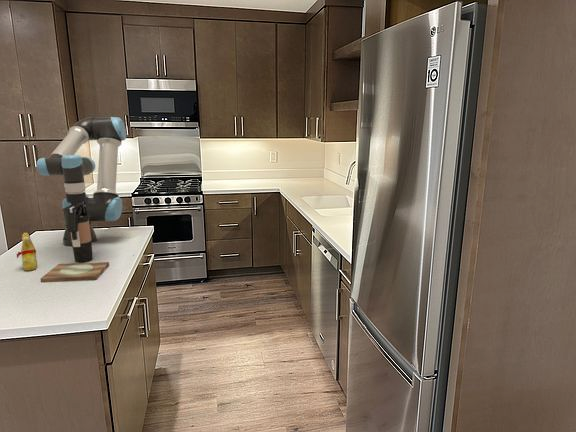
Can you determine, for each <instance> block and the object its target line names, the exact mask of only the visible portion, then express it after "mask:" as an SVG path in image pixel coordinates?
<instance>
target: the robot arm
mask: <svg viewBox="0 0 576 432" xmlns="http://www.w3.org/2000/svg"><path fill="white" fill-rule="evenodd" d="M126 139H127V131H126V125H125V123H124V121H123V120H122V118H120V117H117V116H89V117H85V118H83V119H81V120H78V121H77V122H75V123H74V124H72V126H71V127H70V128H69V129H68V131H67V135H65V137H64V139H63V140H62V141H61V142H60V143H59V144H58V145H57V147H56V148H55V149H54V150H53V151H52V153H51V154H50V155H49V156H48V157H41V158H39V159H38V160H37V162H36V170H37V173H38V174H39V175H41V176H49V177H51V176H63V182H64V185H63V187H64V189H65V198H63V200H62V208H61V209H62V211H63V220H64V225H65V227H64V229H65V230H64V233H63V238H62V242H63V243H62V244H63V245H64V246H68V247H72V244H73V247H80V239H79V231H77V230H78V221H79V219H78V217H80V216H83V215H84V214H88V217H89V225H90V232H91V241H92V244H93V243H95V242H96V241H98V237H97V236H98V235H97V234H96V232H95V230H94V228H93V225H92V222H113V221H118V219H120V217H121V215H122V212H123V205H124V204H123V200H122V198H121V197H119V194H118V193H117V191H116V190H117V173H118V171H117V170H118V157H119V156H118V154H119V147H120V146H121V145H122V142H123V141H125V140H126ZM89 141H96V142H97V144H98V145H99V149H98V151H99V152H98V164H97V165H98V167H97V168H98V169H97V185H96V190H95V191H94V192H93V194H92V197H89V195H88V194H86V183H85V176H88V175H90V174H92V173H93V172H94V171H95V170H96V163H95V161H94V159H92V158H90V157H88V156H83V157H82V155H79V154H77V152H78V151H79V149H80V148H81V147H82V145H85V144H86V143H87V142H89ZM71 236H72V240H71ZM73 247H72V248H73Z"/></svg>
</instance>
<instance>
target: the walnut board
mask: <svg viewBox="0 0 576 432" xmlns="http://www.w3.org/2000/svg"><path fill="white" fill-rule="evenodd" d="M109 266H110V262H109V261H104V262H103V261H100V262H99V261H98V262H85V263H76V262H75V263H70V262H69V263H58V264H57V265H55V266H54V267H53V268H52V269H51V270H49V271H47V273H45V274H44V275H43V276H42V277H40V283H53V282H54V283H55V282H56V283H57V282H58V283H59V282H76V281H80V282H82V281H96V280H98V279H99V277H101V275H102V274H103V273H104V272H105V271H106V270H107V268H108V267H109Z"/></svg>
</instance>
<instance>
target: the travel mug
mask: <svg viewBox="0 0 576 432" xmlns="http://www.w3.org/2000/svg"><path fill="white" fill-rule="evenodd" d="M78 219H79V221H78V230H77V231H79V239H80V247H73V244H72V246H71V247H72V251H73V252H72V253H73V258H74V262H75V263H90V262H91V261H93V260H94V253H93V243H92V241H91V232H90V225H89V217H88V214H84V215H83V216H80V217H78ZM71 240H72V236H71Z"/></svg>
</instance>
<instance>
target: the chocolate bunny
mask: <svg viewBox="0 0 576 432" xmlns="http://www.w3.org/2000/svg"><path fill="white" fill-rule="evenodd" d="M21 236H22V237H21V241H22V245H21V251H17V253H16V258H19V257H20V256H21V261H22V266H23V267H22V268H23V270H24V271H26V272H27V271H34V270H36V267H37V264H38V261H37V260H38V259H37V249H36V248H35V247H36V246H35V245H34V242H33V241H32V240H31V236H30V235H29V233H28V232H23V233H22V235H21Z"/></svg>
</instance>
